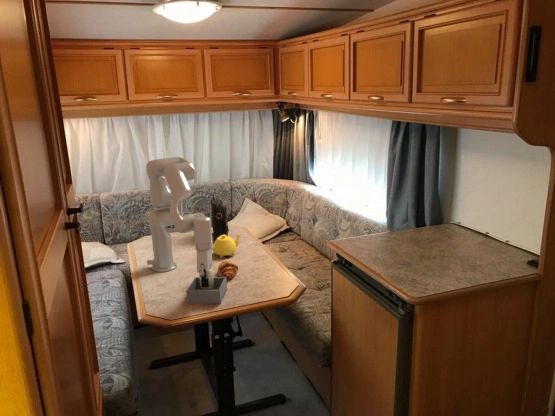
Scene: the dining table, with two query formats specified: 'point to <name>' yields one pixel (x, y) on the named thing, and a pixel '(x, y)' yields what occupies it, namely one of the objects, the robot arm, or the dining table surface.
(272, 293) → the dining table surface
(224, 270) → the croissant
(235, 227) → the dining table surface
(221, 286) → the bin
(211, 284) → the pale green rounded block
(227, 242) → the teapot
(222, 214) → the shoulder bag
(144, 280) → the dining table surface
